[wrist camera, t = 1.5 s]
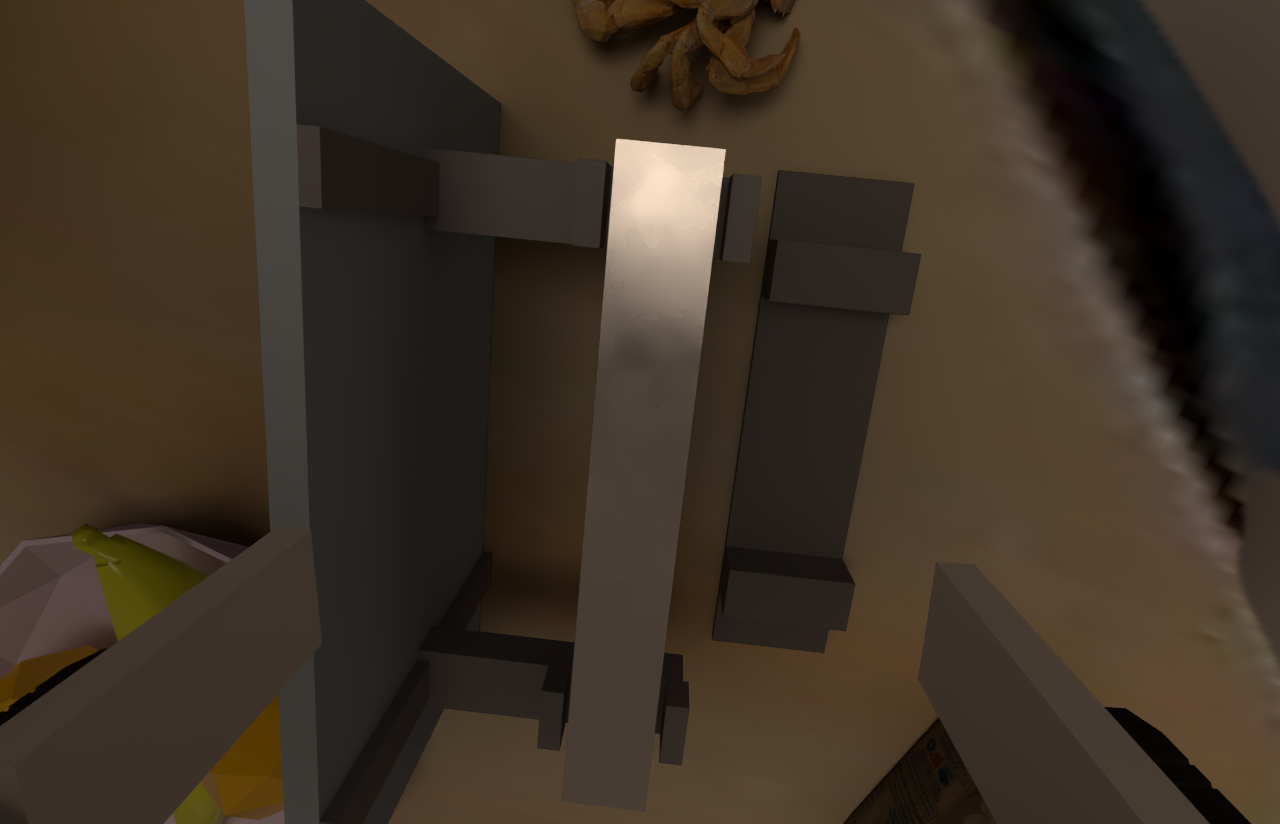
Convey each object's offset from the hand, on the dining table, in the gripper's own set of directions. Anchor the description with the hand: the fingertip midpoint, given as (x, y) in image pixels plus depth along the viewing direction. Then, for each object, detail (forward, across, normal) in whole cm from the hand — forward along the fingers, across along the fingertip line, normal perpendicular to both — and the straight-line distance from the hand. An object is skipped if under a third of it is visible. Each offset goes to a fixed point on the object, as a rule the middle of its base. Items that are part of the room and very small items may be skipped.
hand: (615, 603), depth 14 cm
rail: (+14, 0, -3) cm, 15 cm away
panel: (+25, -4, -2) cm, 26 cm away
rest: (+25, +9, -3) cm, 27 cm away
